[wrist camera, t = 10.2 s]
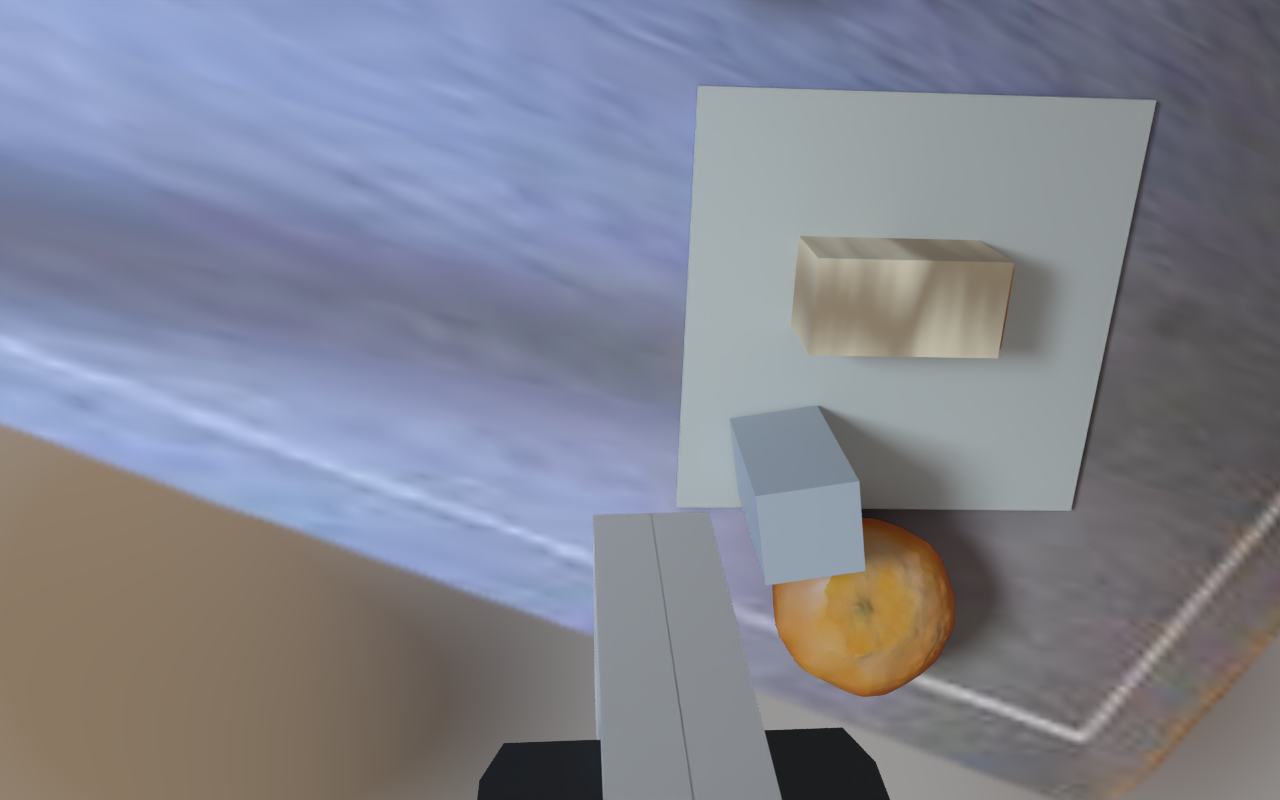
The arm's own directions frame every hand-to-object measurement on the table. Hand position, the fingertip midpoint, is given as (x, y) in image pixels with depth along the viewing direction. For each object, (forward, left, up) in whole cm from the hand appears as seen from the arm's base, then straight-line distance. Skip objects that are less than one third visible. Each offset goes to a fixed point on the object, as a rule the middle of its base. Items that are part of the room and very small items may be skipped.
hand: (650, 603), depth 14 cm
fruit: (+18, +12, -32) cm, 39 cm away
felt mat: (+5, +13, -32) cm, 35 cm away
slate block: (+12, +8, -31) cm, 34 cm away
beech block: (+4, +16, -29) cm, 34 cm away
